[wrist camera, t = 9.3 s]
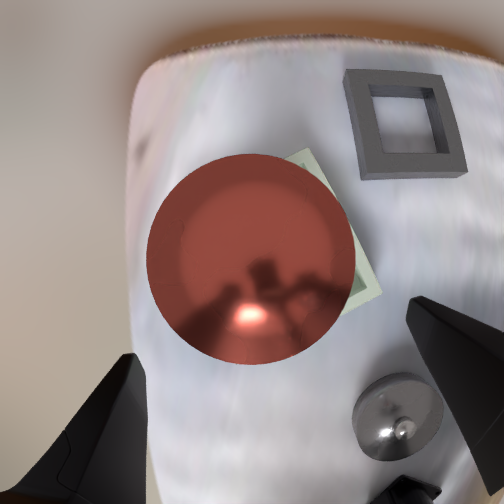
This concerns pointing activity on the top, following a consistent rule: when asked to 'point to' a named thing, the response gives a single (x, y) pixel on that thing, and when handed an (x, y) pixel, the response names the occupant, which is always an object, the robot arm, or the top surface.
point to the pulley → (396, 416)
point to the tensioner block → (367, 133)
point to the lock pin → (251, 259)
